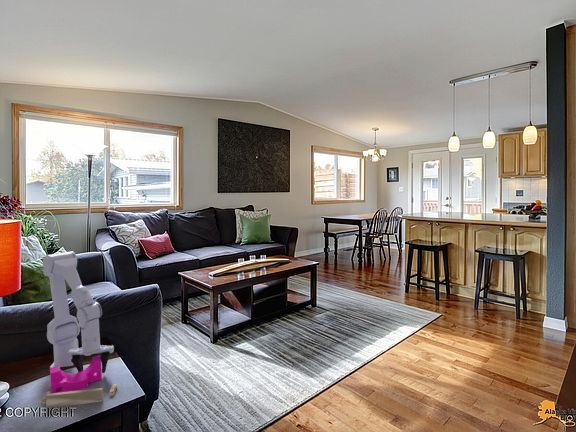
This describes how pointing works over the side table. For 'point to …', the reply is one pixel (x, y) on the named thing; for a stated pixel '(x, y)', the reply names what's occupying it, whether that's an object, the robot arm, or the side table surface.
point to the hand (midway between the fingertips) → (92, 372)
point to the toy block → (75, 377)
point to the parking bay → (75, 397)
